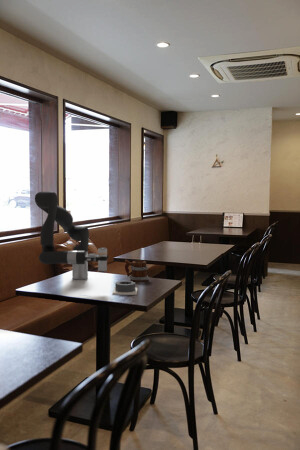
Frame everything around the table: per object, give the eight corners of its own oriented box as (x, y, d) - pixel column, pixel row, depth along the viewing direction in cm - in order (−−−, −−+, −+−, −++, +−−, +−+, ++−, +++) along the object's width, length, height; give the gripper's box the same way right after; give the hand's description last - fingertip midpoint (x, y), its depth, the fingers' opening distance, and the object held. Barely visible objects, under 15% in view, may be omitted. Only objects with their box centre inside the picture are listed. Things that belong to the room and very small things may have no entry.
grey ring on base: (112, 294, 223) (112, 285, 222) (114, 288, 236) (114, 280, 235) (136, 294, 223) (136, 285, 222) (137, 289, 236) (137, 280, 235)
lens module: (97, 271, 226) (97, 248, 225) (98, 269, 231) (98, 247, 230) (106, 271, 226) (106, 249, 225) (107, 269, 231) (107, 247, 230)
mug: (149, 282, 254) (145, 258, 253) (126, 285, 254) (122, 261, 253) (150, 278, 266) (146, 255, 265) (128, 281, 266) (124, 258, 265)
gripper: (73, 252, 220) (105, 253, 220) (78, 248, 235) (108, 249, 235) (73, 266, 221) (105, 266, 221) (78, 262, 235) (108, 262, 235)
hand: (107, 257), depth 228 cm, fingers closed on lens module, 4 cm apart
